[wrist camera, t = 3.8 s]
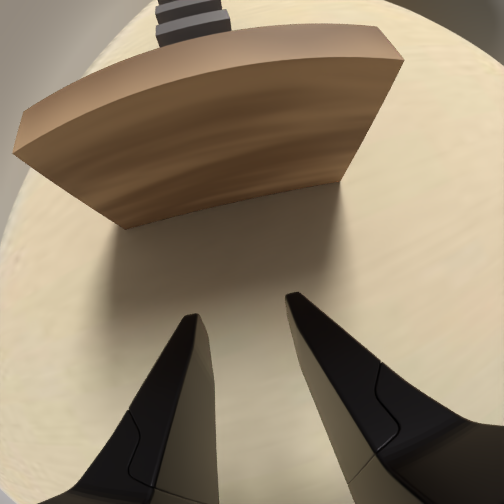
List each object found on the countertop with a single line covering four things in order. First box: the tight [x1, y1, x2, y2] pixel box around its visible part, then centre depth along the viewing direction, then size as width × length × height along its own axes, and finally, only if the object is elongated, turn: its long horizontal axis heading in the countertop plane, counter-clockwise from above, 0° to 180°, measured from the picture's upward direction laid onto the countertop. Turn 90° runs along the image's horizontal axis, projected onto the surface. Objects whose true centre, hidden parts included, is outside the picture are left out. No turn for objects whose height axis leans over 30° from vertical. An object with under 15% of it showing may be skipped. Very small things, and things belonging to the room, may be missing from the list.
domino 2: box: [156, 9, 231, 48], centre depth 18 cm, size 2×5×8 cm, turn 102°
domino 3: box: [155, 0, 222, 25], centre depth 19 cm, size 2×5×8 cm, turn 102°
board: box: [13, 24, 404, 230], centre depth 14 cm, size 2×16×12 cm, turn 102°
